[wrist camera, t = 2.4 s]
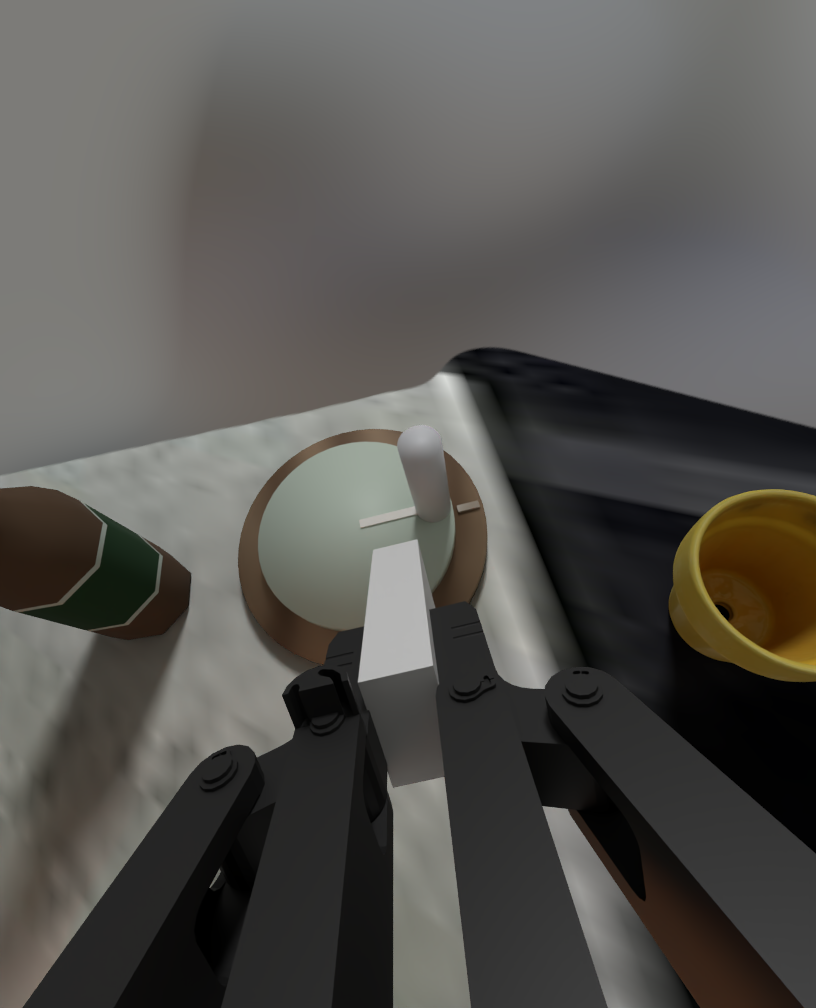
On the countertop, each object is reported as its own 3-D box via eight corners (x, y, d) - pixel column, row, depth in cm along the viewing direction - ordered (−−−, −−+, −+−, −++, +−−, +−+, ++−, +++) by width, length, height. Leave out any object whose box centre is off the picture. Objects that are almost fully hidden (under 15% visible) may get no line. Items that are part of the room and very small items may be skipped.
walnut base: (249, 696, 35) (240, 695, 34) (240, 467, 45) (233, 458, 44) (520, 633, 35) (522, 629, 33) (452, 413, 44) (451, 403, 43)
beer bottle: (138, 547, 43) (-205, 360, 21) (210, 564, 41) (-85, 378, 20) (93, 631, 40) (-358, 511, 18) (170, 653, 38) (-234, 549, 17)
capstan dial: (272, 653, 35) (195, 623, 26) (261, 475, 43) (198, 402, 33) (478, 604, 35) (476, 555, 25) (431, 433, 42) (416, 346, 33)
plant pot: (679, 709, 31) (755, 699, 22) (616, 565, 36) (658, 511, 27) (835, 673, 31) (974, 649, 22) (750, 532, 35) (837, 467, 27)
